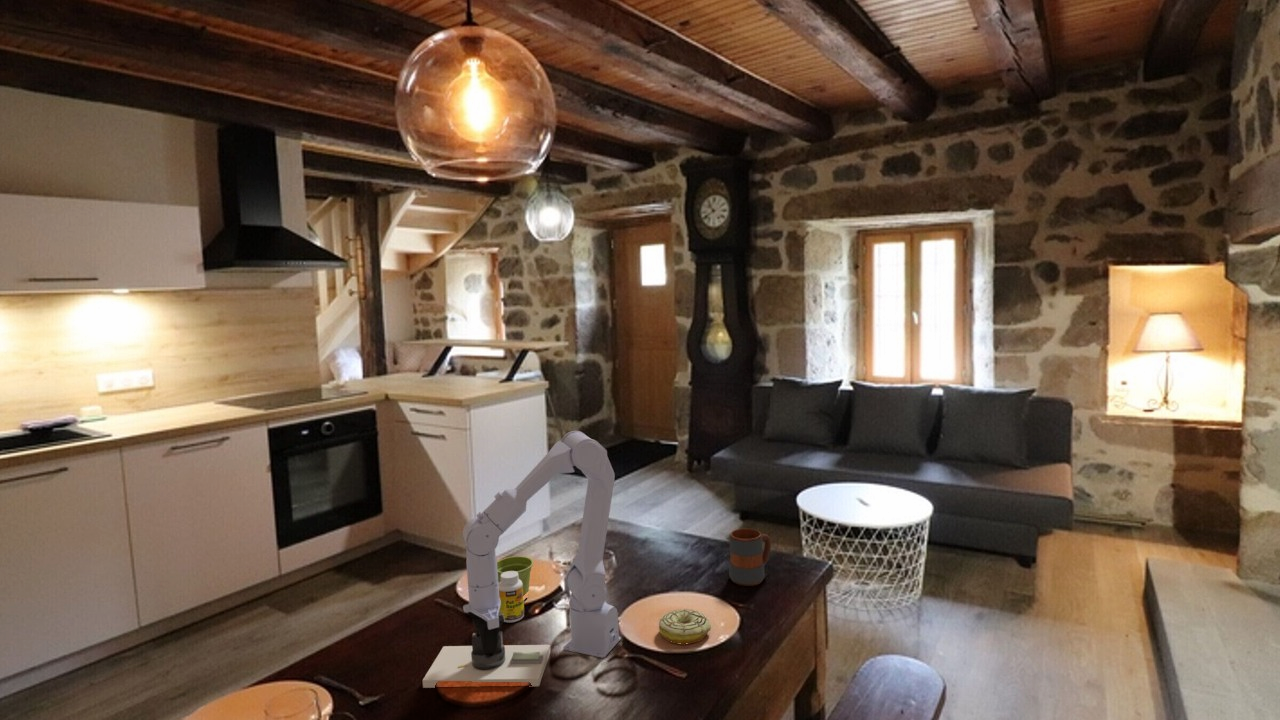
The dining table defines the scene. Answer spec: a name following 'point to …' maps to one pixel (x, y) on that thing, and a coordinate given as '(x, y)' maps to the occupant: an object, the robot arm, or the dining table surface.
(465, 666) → the base plate
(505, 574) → the supplement bottle
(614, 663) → the dining table surface
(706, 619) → the decorated donut
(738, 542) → the mug
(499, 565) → the plant pot
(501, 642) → the knob
